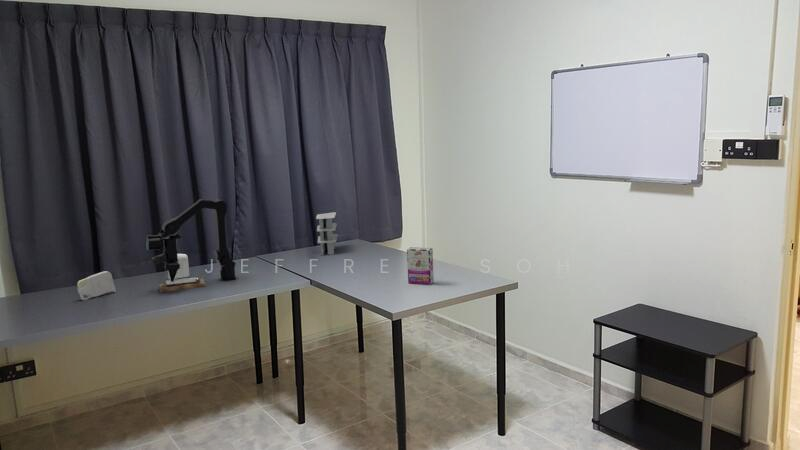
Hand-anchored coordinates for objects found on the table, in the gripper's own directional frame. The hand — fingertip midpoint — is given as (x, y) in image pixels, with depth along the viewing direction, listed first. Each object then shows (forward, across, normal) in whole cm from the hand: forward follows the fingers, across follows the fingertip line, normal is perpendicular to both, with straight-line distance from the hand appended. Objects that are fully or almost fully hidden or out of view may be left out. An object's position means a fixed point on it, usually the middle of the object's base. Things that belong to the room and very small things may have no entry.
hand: (172, 280), depth 276 cm
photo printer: (+4, -20, +4) cm, 21 cm away
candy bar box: (-1, +55, +104) cm, 118 cm away
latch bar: (+1, 0, +5) cm, 5 cm away
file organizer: (-1, -38, +90) cm, 98 cm away
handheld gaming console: (+6, -4, -32) cm, 33 cm away
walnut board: (+4, 0, +4) cm, 6 cm away
